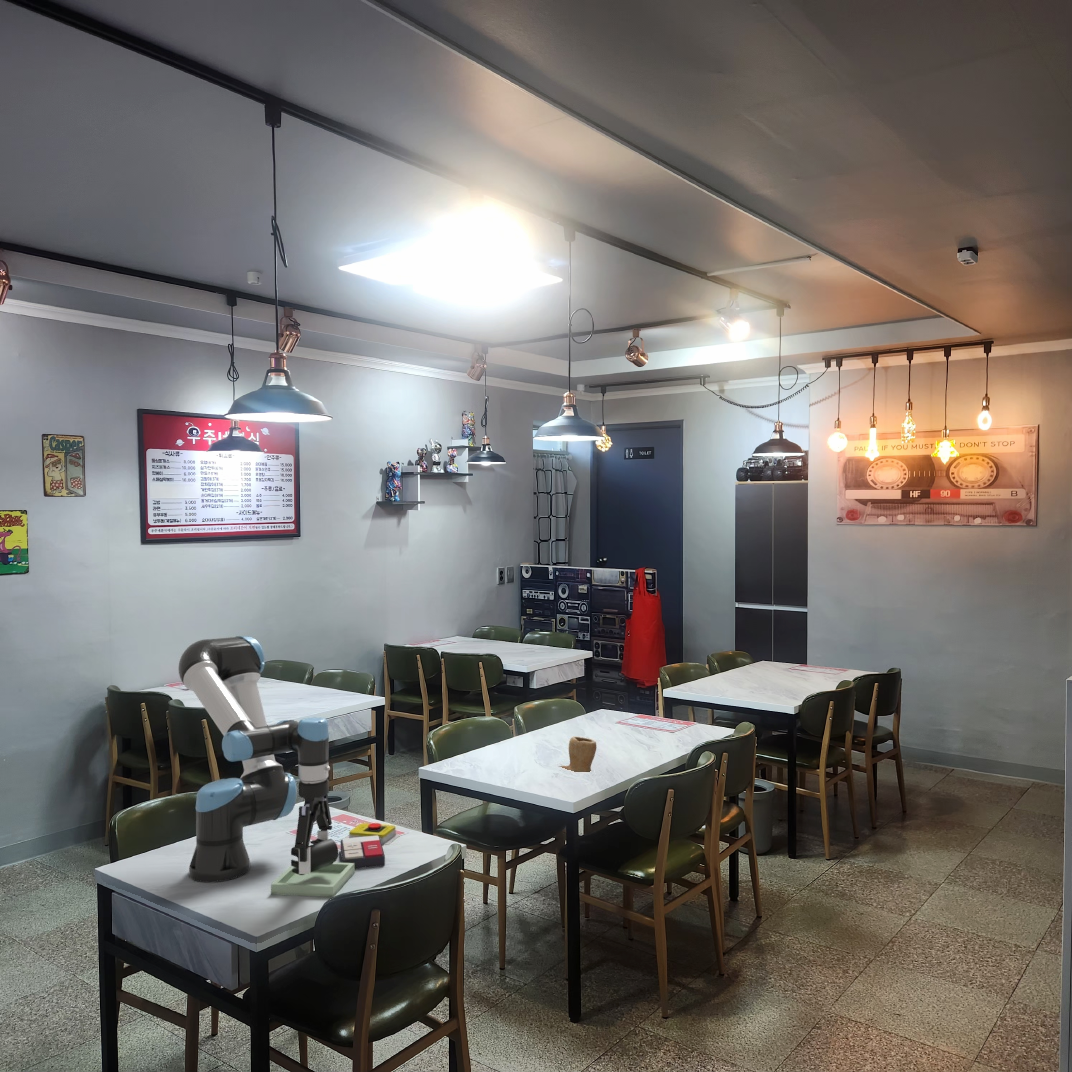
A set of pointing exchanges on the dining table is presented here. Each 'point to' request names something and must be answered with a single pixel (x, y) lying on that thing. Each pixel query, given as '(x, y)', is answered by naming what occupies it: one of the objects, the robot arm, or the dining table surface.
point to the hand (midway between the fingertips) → (314, 864)
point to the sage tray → (314, 881)
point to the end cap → (317, 855)
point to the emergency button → (375, 832)
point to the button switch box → (363, 851)
